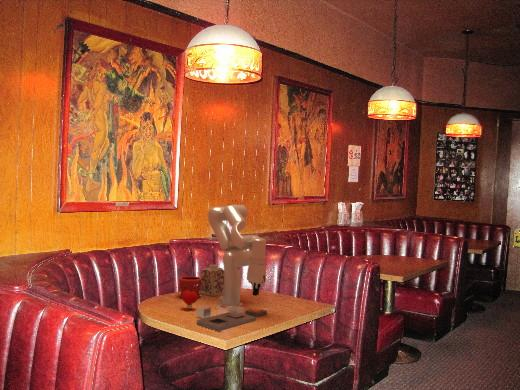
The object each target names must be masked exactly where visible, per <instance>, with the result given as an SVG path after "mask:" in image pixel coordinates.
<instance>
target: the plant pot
mask: <svg viewBox="0 0 520 390" xmlns="http://www.w3.org/2000/svg"><path fill="white" fill-rule="evenodd" d="M200 277H201V276H200ZM200 277H199V276H193V275H192V276H191V275H190V276H189V275H188V276H181V277H179V290H180V295H179V296H180V297H181V298H182V294H183V292H184V291H190V292H193V291H194V292H196V293H197V296H198V298H199V297H200V295H201V293H200V288H201V278H200Z"/></svg>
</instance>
